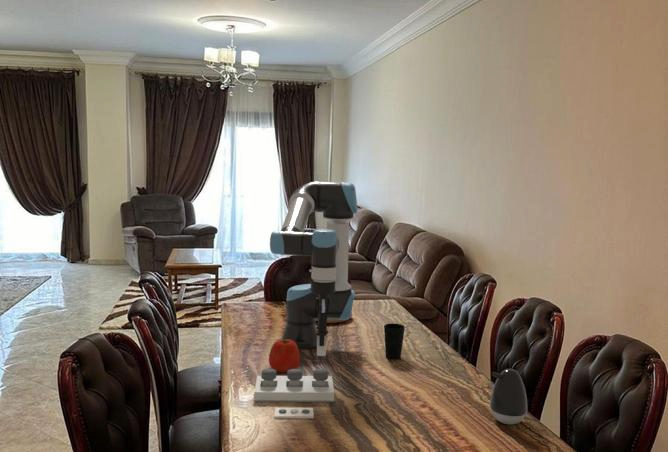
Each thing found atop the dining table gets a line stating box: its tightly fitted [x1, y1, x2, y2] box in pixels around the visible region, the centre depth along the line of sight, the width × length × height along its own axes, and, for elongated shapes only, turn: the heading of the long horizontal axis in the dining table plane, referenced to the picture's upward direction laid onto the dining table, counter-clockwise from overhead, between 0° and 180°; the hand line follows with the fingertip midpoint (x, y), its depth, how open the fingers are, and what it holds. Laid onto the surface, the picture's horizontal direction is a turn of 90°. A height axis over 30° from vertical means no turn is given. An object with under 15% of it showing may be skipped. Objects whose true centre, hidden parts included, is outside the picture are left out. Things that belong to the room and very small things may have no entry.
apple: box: [268, 339, 301, 373], centre depth 208 cm, size 11×11×11 cm
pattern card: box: [274, 407, 315, 419], centre depth 171 cm, size 6×11×1 cm, turn 93°
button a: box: [312, 368, 329, 387], centre depth 187 cm, size 5×5×5 cm
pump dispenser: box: [489, 368, 528, 425], centre depth 170 cm, size 10×10×15 cm
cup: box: [383, 322, 406, 361], centre depth 223 cm, size 8×8×12 cm
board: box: [253, 375, 335, 403], centre depth 186 cm, size 14×24×3 cm, turn 93°
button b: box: [286, 368, 303, 387], centre depth 186 cm, size 5×5×5 cm
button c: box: [260, 368, 277, 387], centre depth 186 cm, size 5×5×5 cm
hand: (321, 355), depth 185 cm, fingers closed
